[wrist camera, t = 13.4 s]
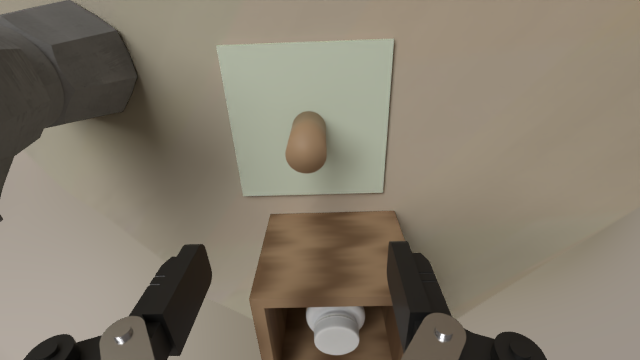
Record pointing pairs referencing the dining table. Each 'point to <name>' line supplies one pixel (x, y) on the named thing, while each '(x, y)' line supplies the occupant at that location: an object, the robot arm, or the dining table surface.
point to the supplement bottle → (336, 328)
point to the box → (325, 282)
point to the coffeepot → (57, 73)
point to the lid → (309, 115)
